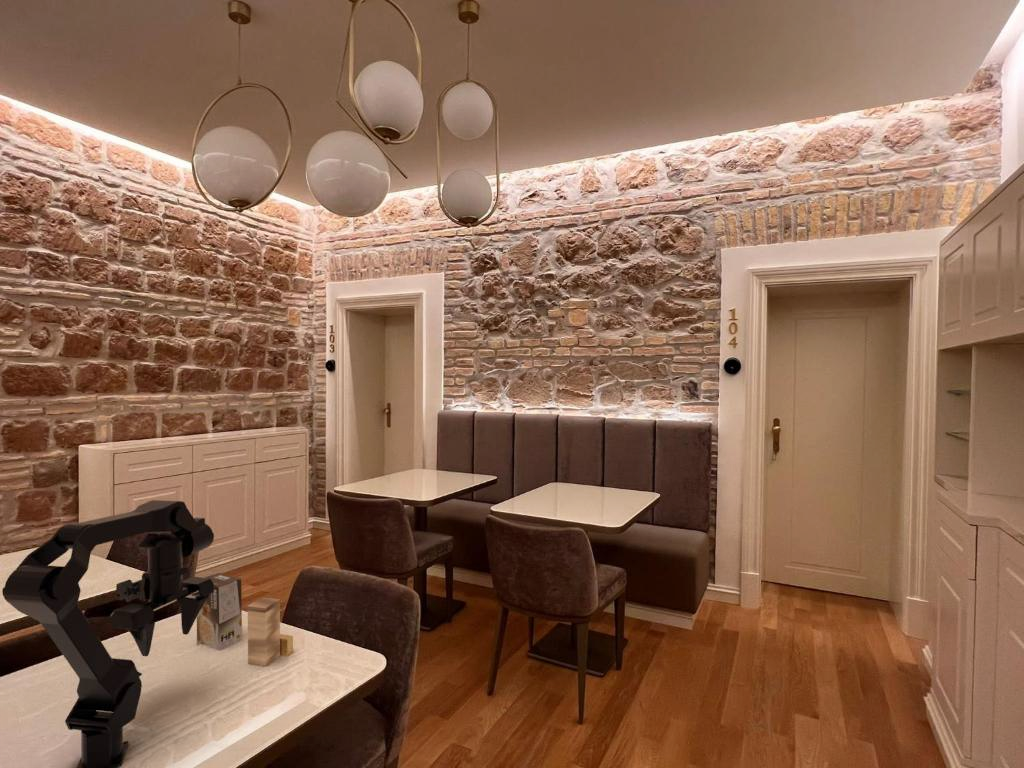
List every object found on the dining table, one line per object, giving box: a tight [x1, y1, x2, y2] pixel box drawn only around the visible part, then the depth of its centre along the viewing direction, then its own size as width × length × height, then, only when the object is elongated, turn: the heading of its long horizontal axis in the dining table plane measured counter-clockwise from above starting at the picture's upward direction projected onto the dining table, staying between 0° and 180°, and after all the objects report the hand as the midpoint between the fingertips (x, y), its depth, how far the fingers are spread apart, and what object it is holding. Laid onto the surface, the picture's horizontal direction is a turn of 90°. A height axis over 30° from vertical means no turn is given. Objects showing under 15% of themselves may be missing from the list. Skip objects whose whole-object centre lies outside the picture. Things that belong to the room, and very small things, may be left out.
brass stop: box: [280, 633, 294, 657], centre depth 132 cm, size 2×8×4 cm, turn 75°
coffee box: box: [196, 572, 243, 651], centre depth 137 cm, size 9×6×16 cm
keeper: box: [246, 596, 281, 667], centre depth 128 cm, size 5×5×13 cm
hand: (166, 644), depth 110 cm, fingers open, 9 cm apart
